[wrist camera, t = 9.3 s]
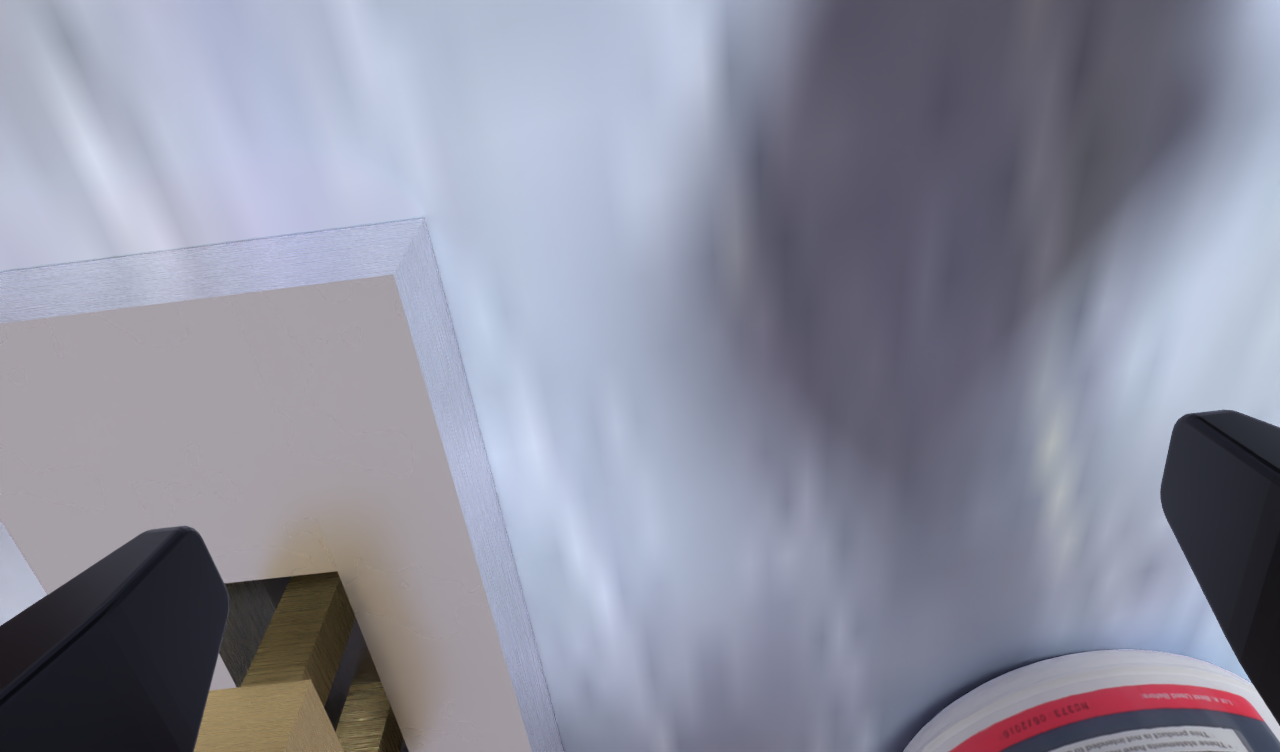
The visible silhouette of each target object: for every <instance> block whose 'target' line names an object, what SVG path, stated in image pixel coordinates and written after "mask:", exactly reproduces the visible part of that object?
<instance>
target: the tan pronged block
mask: <svg viewBox="0 0 1280 752" xmlns="http://www.w3.org/2000/svg"><path fill="white" fill-rule="evenodd" d="M355 619H356V617H355V614H354V612H353V609H352V607H351V604H350V602H349V599H348V597H347V594H346V591H345V589H344V586H343V584H342V581H341V579H340V576H339V574H338V571H335V572H326V573H317V574H307V575H298V576H291V578H290V581H289V583H288V585H287V587H286V589H285V591H284V594H283V596H282V598H281V600H280V602H279V604H278V607H277V609H276V611H275V613H274V615H273V618H272V620H271V622H270V624H269V626H268V628H267V631H266V633H265V635H264V637H263V639H262V641H261V644H260V646H259V648H258V650H257V652H256V655H255V657H254V659H253V661H252V663H251V665H250V668H249V670H248V672H247V674H246V676H245V679H244V681H243V683H242V685H241V687H237V688H228V689H219V690H210V691H209V694H208V698H207V702H206V706H205V710H204V714H203V718H202V722H201V726H200V730H199V734H198V738H197V741H196V745H195V748H194V752H400V749H401V745H402V741H403V735H402V733H401V730H400V728H399V725H398V723H397V720H396V718H395V715H394V713H393V710H392V708H391V705H390V703H389V700H388V698H387V695H386V693H385V690H384V687H383V685H382V682H377V683H368V684H359V685H351V686H350V689H349V692H348V695H347V699H346V702H345V705H344V708H343V711H342V714H341V717H340V720H339V723H338V726H337V729H336V732H335V730H334V728H333V726H332V724H331V722H330V719H329V717H328V715H327V713H326V711H325V709H324V707H325V704H326V701H327V698H328V696H329V693H330V690H331V687H332V684H333V681H334V678H335V676H336V673H337V670H338V667H339V664H340V661H341V659H342V656H343V653H344V650H345V647H346V644H347V641H348V639H349V636H350V633H351V630H352V627H353V624H354V621H355Z"/></svg>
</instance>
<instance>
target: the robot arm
mask: <svg viewBox="0 0 1280 752" xmlns="http://www.w3.org/2000/svg"><path fill="white" fill-rule="evenodd" d="M1160 492H1161V503H1162V508H1163V511H1164V514H1165V516H1166V519H1167V521H1168V523H1169V525H1170V527H1171V529H1172V531H1173V533H1174V535H1175V537H1176V539H1177V541H1178V543H1179V545H1180V547H1181V549H1182V551H1183V553H1184V555H1185V557H1186V559H1187V561H1188V563H1189V565H1190V567H1191V569H1192V571H1193V573H1194V575H1195V577H1196V579H1197V581H1198V583H1199V585H1200V587H1201V589H1202V591H1203V593H1204V595H1205V597H1206V599H1207V601H1208V603H1209V605H1210V607H1211V609H1212V611H1213V613H1214V615H1215V617H1216V619H1217V621H1218V623H1219V625H1220V627H1221V629H1222V631H1223V633H1224V635H1225V637H1226V638H1227V640H1228V642H1229V644H1230V646H1231V648H1232V650H1233V651H1234V653H1235V655H1236V657H1237V659H1238V661H1239V662H1240V664H1241V666H1242V667H1243V669H1244V671H1245V672H1246V674H1247V675H1248V677H1249V679H1250V680H1251V682H1252V684H1253V685H1254V687H1255V689H1256V690H1257V692H1258V693H1259V695H1260V696H1261V698H1262V699H1263V701H1264V702H1265V704H1266V706H1267V707H1268V709H1269V710H1270V712H1271V713H1272V715H1273V716H1274V718H1275V720H1276V721H1277V723H1278V724H1279V726H1280V428H1279V427H1277V426H1274V425H1271V424H1269V423H1266V422H1263V421H1261V420H1258V419H1255V418H1253V417H1250V416H1247V415H1245V414H1242V413H1239V412H1236V411H1233V410H1218V411H1209V412H1200V413H1191V414H1186V415H1184V416H1182V417H1181V418H1180V419H1178V421H1177V422H1176V424H1175V425H1174V428H1173V431H1172V436H1171V440H1170V445H1169V450H1168V455H1167V459H1166V464H1165V469H1164V474H1163V478H1162V483H1161V491H1160ZM228 614H229V596H228V592H227V589H226V586H225V584H224V582H223V580H222V578H221V575H220V573H219V571H218V569H217V567H216V565H215V563H214V561H213V559H212V557H211V555H210V553H209V551H208V549H207V547H206V544H205V542H204V540H203V538H202V537H201V535H200V533H199V532H197V531H196V530H195V529H194V528H192V527H189V526H177V527H167V528H158V529H151V530H147V531H144V532H143V533H141V534H139V535H138V536H136V537H135V538H133V539H132V540H130V541H129V542H127V543H126V544H124V545H123V546H121V547H119V548H118V549H116V550H115V551H113V552H112V553H110V554H109V555H107V556H106V557H104V558H103V559H101V560H100V561H98V562H97V563H95V564H94V565H92V566H91V567H89V568H88V569H86V570H85V571H83V572H82V573H80V574H79V575H77V576H76V577H74V578H72V579H71V580H69V581H68V582H66V583H65V584H63V585H62V586H60V587H59V588H57V589H56V590H54V591H53V592H51V593H50V594H48V595H47V596H45V597H44V598H42V599H41V600H39V601H38V602H36V603H35V604H33V605H32V606H30V607H29V608H27V609H25V610H24V611H22V612H21V613H19V614H18V615H16V616H15V617H13V618H12V619H10V620H9V621H7V622H6V623H4V624H3V625H1V626H0V752H194V748H195V745H196V741H197V738H198V734H199V730H200V726H201V722H202V718H203V714H204V710H205V706H206V702H207V698H208V694H209V690H210V686H211V682H212V678H213V674H214V671H215V667H216V663H217V659H218V655H219V651H220V647H221V643H222V639H223V635H224V631H225V627H226V623H227V619H228Z"/></svg>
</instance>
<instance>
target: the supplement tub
mask: <svg viewBox="0 0 1280 752" xmlns="http://www.w3.org/2000/svg"><path fill="white" fill-rule="evenodd" d="M903 752H1280V726H1279V724H1278V723H1277V721H1276V720H1275V718H1274V716H1273V715H1272V713H1271V712H1270V710H1269V709H1268V707H1267V706H1266V704H1265V702H1264V701H1263V699H1262V698H1261V696H1260V695H1259V693H1258V692H1257V690H1256V689H1255V687H1254V685H1253V684H1251V683H1250V682H1248V681H1246V680H1245V679H1243V678H1241V677H1240V676H1238V675H1236V674H1234V673H1232V672H1230V671H1228V670H1226V669H1223V668H1221V667H1219V666H1216V665H1214V664H1212V663H1209V662H1205V661H1202V660H1198V659H1195V658H1192V657H1188V656H1184V655H1179V654H1173V653H1168V652H1160V651H1149V650H1137V649H1115V650H1097V651H1089V652H1082V653H1075V654H1069V655H1064V656H1059V657H1055V658H1051V659H1047V660H1043V661H1039V662H1036V663H1033V664H1030V665H1027V666H1024V667H1021V668H1018V669H1015V670H1013V671H1010V672H1008V673H1006V674H1003V675H1001V676H999V677H997V678H994V679H992V680H990V681H988V682H986V683H984V684H982V685H981V686H979V687H977V688H975V689H974V690H972V691H970V692H969V693H967V694H965V695H964V696H962V697H961V698H959V699H957V700H956V701H954V702H953V703H951V704H950V705H949V706H947V707H946V708H944V709H943V710H942V711H941V712H940V713H939V714H937V715H936V716H935V717H934V718H933V719H932V720H930V721H929V722H928V723H927V724H926V725H925V726H924V727H923V728H922V729H921V730H920V731H919V732H918V733H917V734H916V736H915V737H914V738H913V739H912V740H911V741H910V743H909V744H908V745H907V747H906V748H905V749H904V751H903Z"/></svg>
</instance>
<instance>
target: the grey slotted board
mask: <svg viewBox="0 0 1280 752" xmlns="http://www.w3.org/2000/svg"><path fill="white" fill-rule="evenodd" d="M0 520H1V521H2V523H3V524H4V526H5V528H6V529H7V531H8V532H9V534H10V536H11V537H12V539H13V540H14V542H15V544H16V545H17V547H18V548H19V550H20V552H21V553H22V555H23V556H24V558H25V560H26V561H27V563H28V564H29V566H30V568H31V569H32V571H33V572H34V574H35V576H36V577H37V579H38V580H39V582H40V584H41V585H42V587H43V588H44V590H45V592H46V593H47V595H48V594H50V593H51V592H53V591H54V590H56V589H57V588H59V587H60V586H62V585H63V584H65V583H66V582H68V581H69V580H71V579H72V578H74V577H76V576H77V575H79V574H80V573H82V572H83V571H85V570H86V569H88V568H89V567H91V566H92V565H94V564H95V563H97V562H98V561H100V560H101V559H103V558H104V557H106V556H107V555H109V554H110V553H112V552H113V551H115V550H116V549H118V548H119V547H121V546H123V545H124V544H126V543H127V542H129V541H130V540H132V539H133V538H135V537H136V536H138V535H139V534H141V533H143V532H144V531H147V530H151V529H158V528H167V527H177V526H189V527H192V528H194V529H195V530H196V531H197V532H199V533H200V535H201V537H202V538H203V540H204V542H205V544H206V547H207V549H208V551H209V553H210V555H211V557H212V559H213V561H214V563H215V565H216V567H217V569H218V571H219V573H220V575H221V578H222V580H223V582H224V584H225V586H226V589H227V592H228V596H229V614H228V619H227V623H226V627H225V631H224V635H223V639H222V643H221V647H220V651H219V655H218V659H217V663H216V667H215V671H214V674H213V678H212V682H211V686H210V690H219V689H228V688H237V687H241V685H242V683H243V681H244V679H245V676H246V674H247V672H248V670H249V668H250V665H251V663H252V661H253V659H254V657H255V655H256V652H257V650H258V648H259V646H260V644H261V641H262V639H263V637H264V635H265V633H266V631H267V628H268V626H269V624H270V622H271V620H272V618H273V615H274V613H275V611H276V609H277V607H278V604H279V602H280V600H281V598H282V596H283V594H284V591H285V589H286V587H287V585H288V583H289V581H290V578H291V576H298V575H307V574H317V573H326V572H335V571H338V574H339V576H340V579H341V581H342V584H343V586H344V589H345V591H346V594H347V597H348V599H349V602H350V604H351V607H352V609H353V612H354V614H355V617H356V619H355V621H354V624H353V627H352V630H351V633H350V636H349V639H348V641H347V644H346V647H345V650H344V653H343V656H342V659H341V661H340V664H339V667H338V670H337V673H336V676H335V678H334V681H333V684H332V687H331V690H330V693H329V696H328V698H327V701H326V704H325V707H324V709H325V711H326V713H327V715H328V717H329V719H330V722H331V724H332V726H333V728H334V730H335V732H336V729H337V726H338V723H339V720H340V717H341V714H342V711H343V708H344V705H345V702H346V699H347V695H348V692H349V689H350V686H351V685H359V684H368V683H377V682H382V685H383V687H384V690H385V693H386V695H387V698H388V700H389V703H390V705H391V708H392V710H393V713H394V715H395V718H396V720H397V723H398V725H399V728H400V730H401V733H402V735H403V741H402V745H401V749H400V752H564V750H563V747H562V743H561V739H560V735H559V731H558V727H557V724H556V720H555V716H554V712H553V708H552V704H551V701H550V697H549V693H548V689H547V685H546V681H545V678H544V674H543V670H542V666H541V662H540V659H539V655H538V651H537V647H536V643H535V639H534V636H533V632H532V628H531V624H530V620H529V616H528V613H527V609H526V605H525V601H524V597H523V593H522V590H521V586H520V582H519V578H518V574H517V571H516V567H515V563H514V559H513V555H512V551H511V548H510V544H509V540H508V536H507V532H506V528H505V525H504V521H503V517H502V513H501V509H500V505H499V502H498V498H497V494H496V490H495V486H494V483H493V479H492V475H491V471H490V467H489V463H488V460H487V456H486V452H485V448H484V444H483V440H482V437H481V433H480V429H479V425H478V421H477V417H476V414H475V410H474V406H473V402H472V398H471V395H470V391H469V387H468V383H467V379H466V375H465V372H464V368H463V364H462V360H461V356H460V352H459V349H458V345H457V341H456V337H455V333H454V329H453V326H452V322H451V318H450V314H449V310H448V306H447V303H446V299H445V295H444V291H443V287H442V284H441V280H440V276H439V272H438V268H437V264H436V261H435V257H434V253H433V249H432V245H431V241H430V238H429V234H428V230H427V226H426V222H425V218H421V219H414V220H406V221H398V222H390V223H382V224H374V225H367V226H359V227H351V228H343V229H335V230H327V231H320V232H312V233H304V234H296V235H288V236H281V237H273V238H265V239H257V240H249V241H241V242H234V243H226V244H218V245H210V246H202V247H195V248H187V249H179V250H171V251H163V252H155V253H148V254H140V255H132V256H124V257H116V258H109V259H101V260H93V261H85V262H77V263H69V264H62V265H54V266H46V267H38V268H30V269H22V270H15V271H7V272H0ZM210 690H209V691H210Z"/></svg>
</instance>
